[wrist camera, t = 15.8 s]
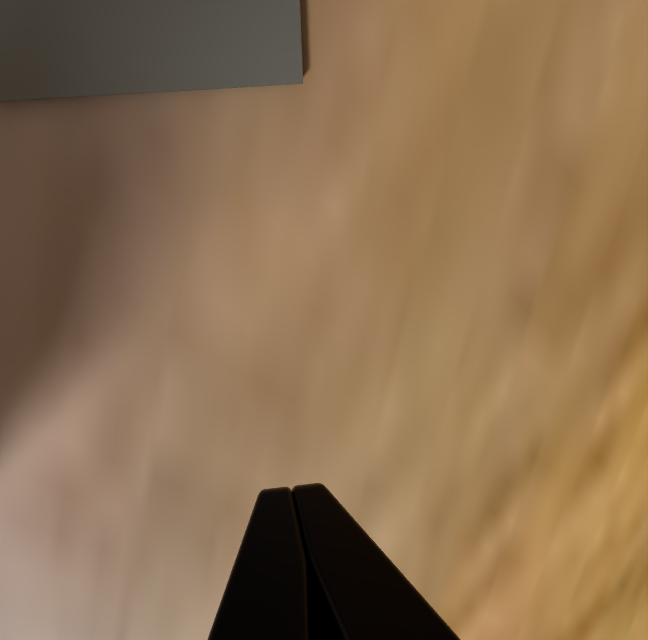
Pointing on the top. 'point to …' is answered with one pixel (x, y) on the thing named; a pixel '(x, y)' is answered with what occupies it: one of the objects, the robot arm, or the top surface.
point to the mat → (146, 46)
